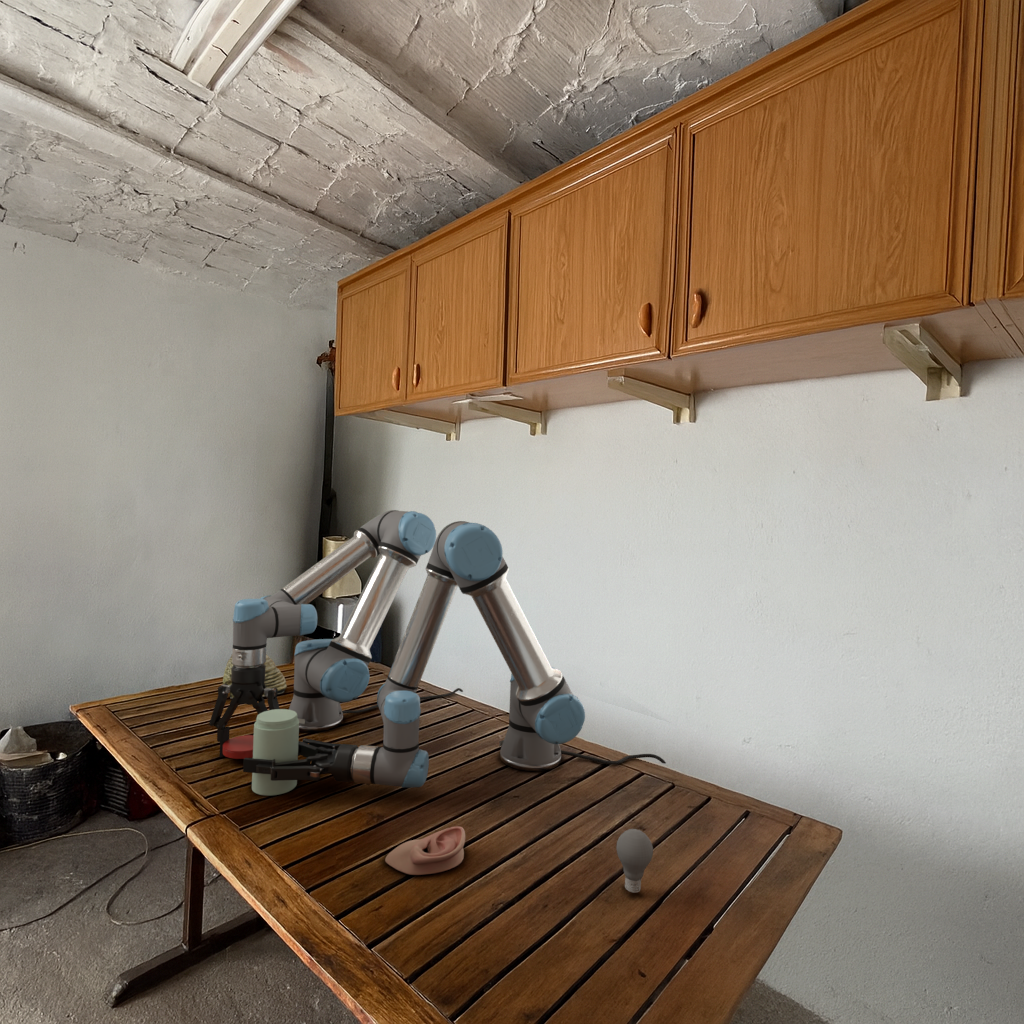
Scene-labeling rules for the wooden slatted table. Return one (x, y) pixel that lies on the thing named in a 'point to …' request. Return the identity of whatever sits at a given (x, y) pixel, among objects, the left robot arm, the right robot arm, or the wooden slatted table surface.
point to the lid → (239, 747)
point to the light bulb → (634, 857)
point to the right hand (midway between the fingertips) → (255, 755)
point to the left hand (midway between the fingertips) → (245, 757)
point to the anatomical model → (429, 853)
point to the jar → (275, 747)
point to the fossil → (271, 676)
